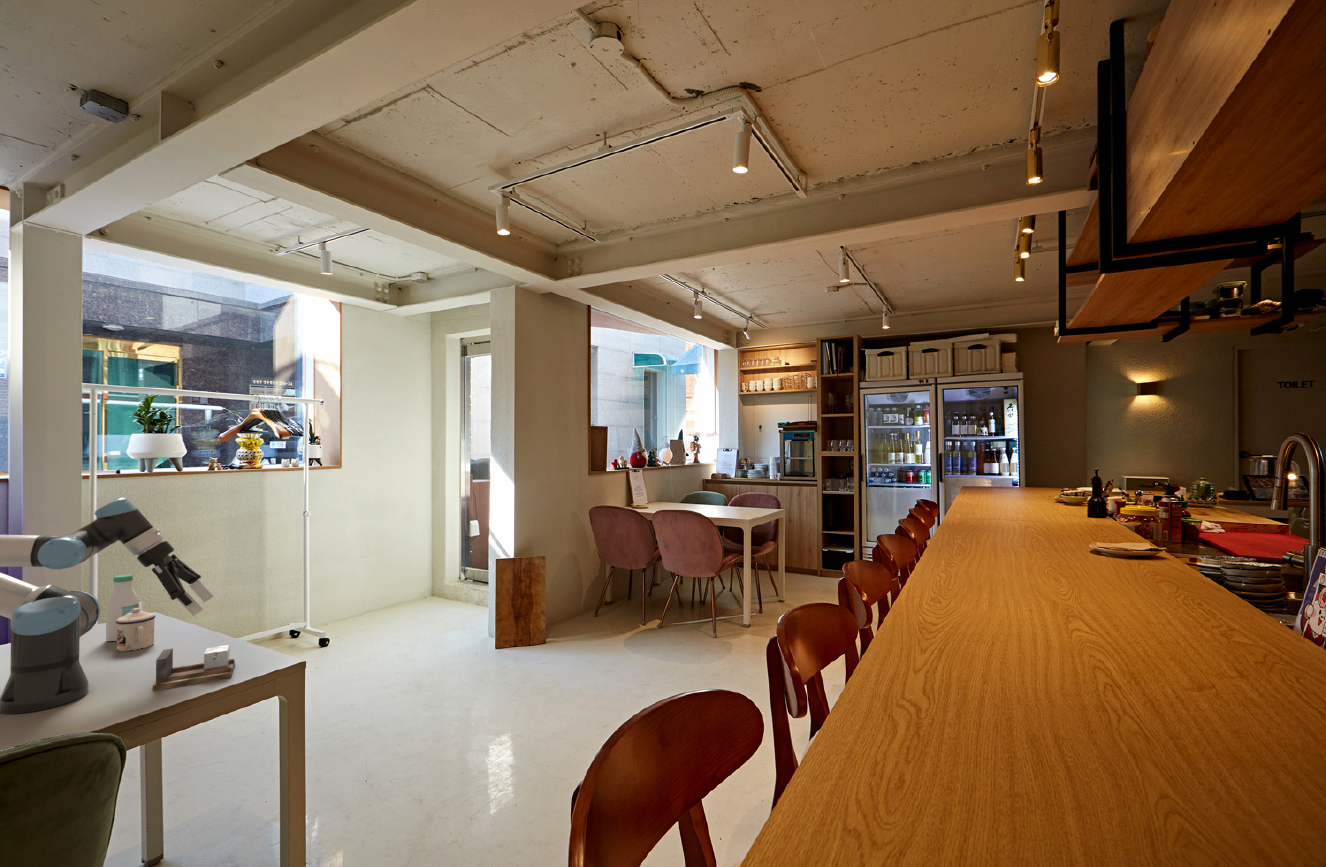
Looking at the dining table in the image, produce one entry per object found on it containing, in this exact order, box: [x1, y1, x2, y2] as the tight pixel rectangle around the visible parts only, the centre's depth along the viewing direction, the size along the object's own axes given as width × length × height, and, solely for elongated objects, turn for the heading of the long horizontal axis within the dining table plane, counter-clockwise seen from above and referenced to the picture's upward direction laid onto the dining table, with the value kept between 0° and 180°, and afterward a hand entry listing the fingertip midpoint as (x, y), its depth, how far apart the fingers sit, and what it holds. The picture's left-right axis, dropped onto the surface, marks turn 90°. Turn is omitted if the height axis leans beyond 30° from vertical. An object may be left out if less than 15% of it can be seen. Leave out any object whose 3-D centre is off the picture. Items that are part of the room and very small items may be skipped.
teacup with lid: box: [116, 607, 156, 652], centre depth 183 cm, size 12×9×12 cm
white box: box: [203, 644, 231, 671], centre depth 161 cm, size 5×9×5 cm, turn 31°
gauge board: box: [151, 648, 236, 691], centre depth 160 cm, size 16×11×7 cm
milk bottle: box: [105, 574, 140, 642], centre depth 192 cm, size 8×8×20 cm
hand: (204, 605), depth 172 cm, fingers open, 13 cm apart
